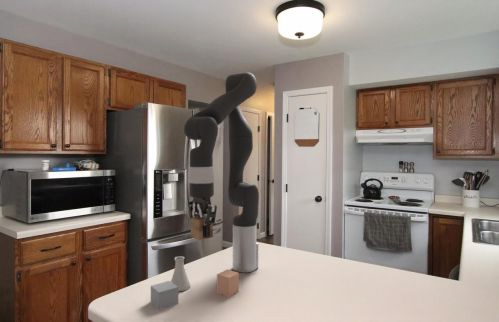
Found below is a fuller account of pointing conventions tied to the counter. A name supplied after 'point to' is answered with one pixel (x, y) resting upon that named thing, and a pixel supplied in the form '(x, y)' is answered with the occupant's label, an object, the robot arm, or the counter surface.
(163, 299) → the grey base block
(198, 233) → the walnut cube
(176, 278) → the flask
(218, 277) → the terracotta cube
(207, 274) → the counter surface
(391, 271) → the counter surface
